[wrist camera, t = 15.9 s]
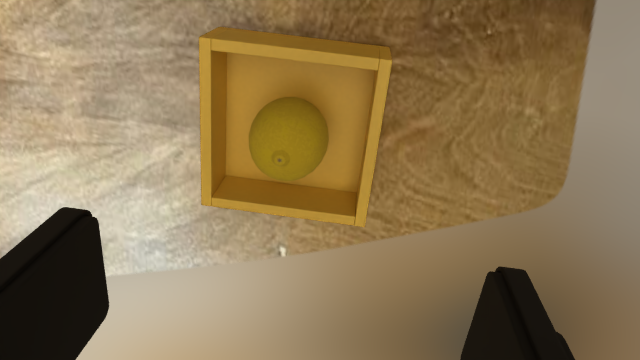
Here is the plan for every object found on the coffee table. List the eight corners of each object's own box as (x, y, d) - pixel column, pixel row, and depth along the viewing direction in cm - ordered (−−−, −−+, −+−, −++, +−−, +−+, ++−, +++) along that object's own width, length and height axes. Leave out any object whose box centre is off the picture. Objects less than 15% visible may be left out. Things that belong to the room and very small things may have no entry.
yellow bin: (389, 46, 34) (392, 60, 30) (365, 198, 40) (364, 227, 36) (218, 26, 35) (198, 36, 30) (218, 179, 40) (201, 205, 36)
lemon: (344, 103, 36) (338, 142, 28) (314, 163, 38) (302, 212, 31) (277, 72, 35) (254, 103, 28) (251, 135, 37) (224, 178, 30)
